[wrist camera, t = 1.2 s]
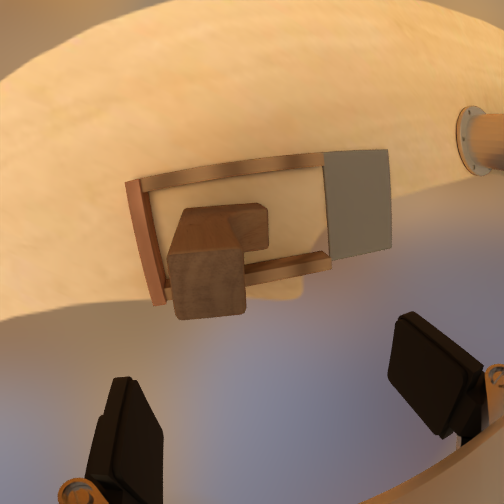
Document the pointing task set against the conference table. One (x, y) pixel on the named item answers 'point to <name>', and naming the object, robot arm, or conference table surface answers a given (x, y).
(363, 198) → the mat
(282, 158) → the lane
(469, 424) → the robot arm
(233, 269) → the wooden block
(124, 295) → the conference table surface
